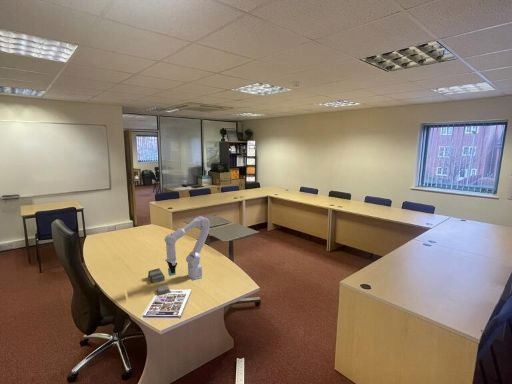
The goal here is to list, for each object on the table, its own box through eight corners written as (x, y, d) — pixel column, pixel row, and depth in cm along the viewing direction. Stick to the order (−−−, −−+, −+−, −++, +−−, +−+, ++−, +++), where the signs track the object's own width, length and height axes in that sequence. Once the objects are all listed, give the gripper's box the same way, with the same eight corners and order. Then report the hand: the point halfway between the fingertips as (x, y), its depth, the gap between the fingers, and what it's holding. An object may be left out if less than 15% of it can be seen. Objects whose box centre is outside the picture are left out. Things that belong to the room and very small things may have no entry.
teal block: (174, 272, 186) (173, 267, 185) (175, 274, 183) (175, 269, 182) (168, 273, 184) (168, 268, 184) (169, 276, 181) (169, 270, 180)
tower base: (168, 289, 177) (168, 286, 177) (171, 295, 170) (171, 292, 170) (155, 292, 173) (155, 289, 173) (157, 298, 167) (157, 295, 166)
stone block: (151, 286, 182) (150, 278, 181) (146, 278, 194) (146, 271, 193) (164, 282, 186) (164, 275, 186) (159, 274, 198) (159, 268, 198)
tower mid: (167, 287, 176) (166, 284, 176) (169, 291, 171) (169, 288, 170) (157, 290, 173) (157, 287, 173) (159, 294, 168) (159, 291, 167)
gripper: (162, 250, 185) (163, 269, 188) (167, 257, 173) (168, 277, 175) (173, 248, 189) (174, 266, 191) (178, 255, 176) (179, 274, 178)
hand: (172, 271), depth 183 cm, fingers closed on teal block, 4 cm apart
